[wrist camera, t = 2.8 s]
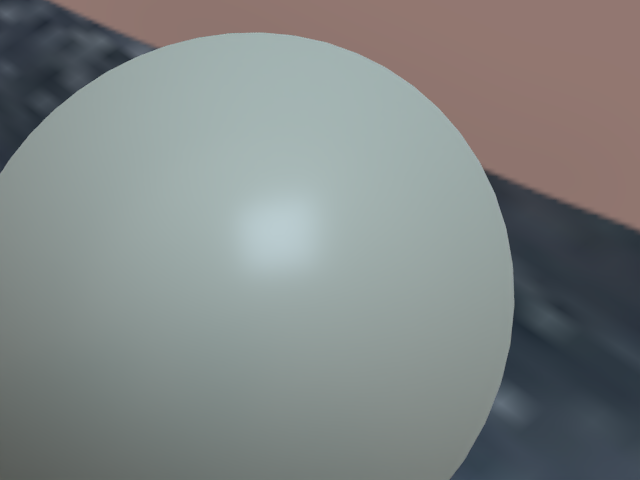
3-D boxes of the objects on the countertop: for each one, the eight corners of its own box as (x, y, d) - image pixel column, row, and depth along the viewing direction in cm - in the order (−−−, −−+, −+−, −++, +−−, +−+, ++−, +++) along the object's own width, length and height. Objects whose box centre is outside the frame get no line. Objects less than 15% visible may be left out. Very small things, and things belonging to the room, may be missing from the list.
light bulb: (442, 481, 17) (579, 636, 5) (240, 480, 18) (-123, 617, 5) (429, 279, 19) (503, -5, 6) (245, 286, 19) (-19, 38, 7)
